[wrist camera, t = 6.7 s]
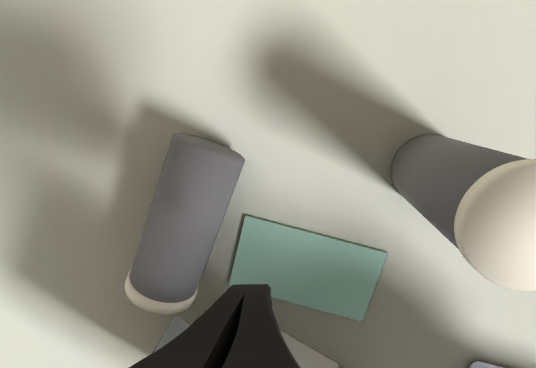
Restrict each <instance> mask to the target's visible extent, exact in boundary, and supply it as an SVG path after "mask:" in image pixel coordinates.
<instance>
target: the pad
mask: <svg viewBox="0 0 536 368" xmlns="http://www.w3.org/2000/svg"><path fill="white" fill-rule="evenodd" d="M387 254H388V253H387V252H384V251H380V250H376V249H373V248H369V247H365V246H361V245H357V244H354V243H350V242H346V241H342V240H338V239H335V238H331V237H327V236H323V235H320V234H316V233H312V232H308V231H304V230H301V229H297V228H293V227H289V226H285V225H282V224H278V223H274V222H270V221H267V220H263V219H259V218H255V217H251V216H248V215H245V219H244V223H243V227H242V231H241V235H240V240H239V244H238V248H237V252H236V256H235V260H234V264H233V269H232V273H231V277H230V281H229V285H228V286H232V285H237V284H268V285H269V286H270V287H271V297H272V298H276V299H279V300H283V301H287V302H290V303H294V304H298V305H302V306H305V307H309V308H313V309H316V310H320V311H324V312H327V313H331V314H335V315H339V316H342V317H346V318H350V319H353V320H357V321H361V322H362V321H363V319H364V316H365V313H366V311H367V308H368V305H369V303H370V300H371V297H372V294H373V292H374V289H375V286H376V284H377V281H378V278H379V276H380V273H381V270H382V268H383V265H384V262H385V259H386V257H387Z"/></svg>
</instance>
